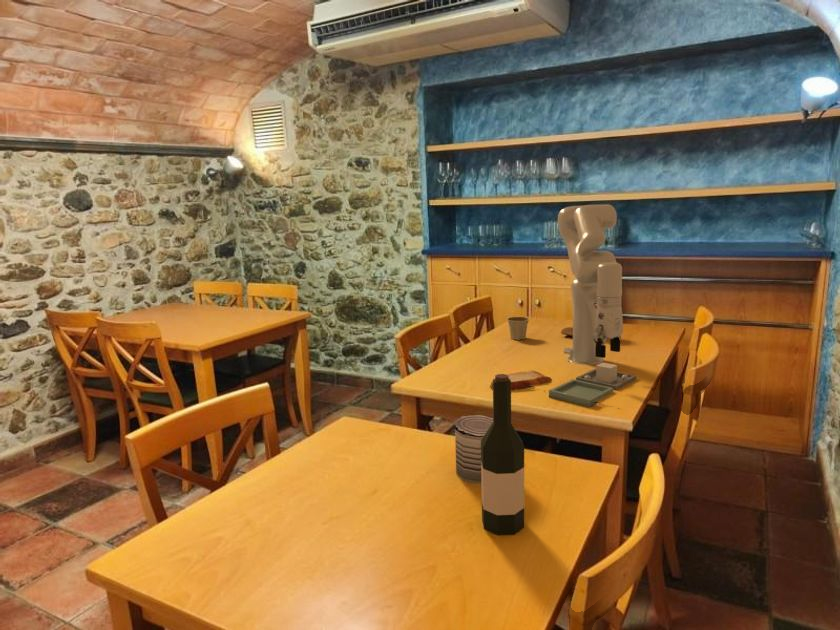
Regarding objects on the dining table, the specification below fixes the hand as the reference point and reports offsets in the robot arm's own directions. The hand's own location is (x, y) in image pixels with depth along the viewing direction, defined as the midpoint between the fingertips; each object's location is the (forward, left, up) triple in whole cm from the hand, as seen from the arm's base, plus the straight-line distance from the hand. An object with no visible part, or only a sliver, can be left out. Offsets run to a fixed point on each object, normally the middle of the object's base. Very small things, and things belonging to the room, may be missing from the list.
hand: (607, 354), depth 191 cm
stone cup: (-38, +51, -10) cm, 64 cm away
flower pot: (-58, +32, -10) cm, 67 cm away
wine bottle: (+24, -88, -10) cm, 92 cm away
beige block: (-1, +1, -9) cm, 9 cm away
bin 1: (-1, -15, -10) cm, 18 cm away
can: (+7, -74, -10) cm, 75 cm away
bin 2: (-1, +1, -10) cm, 10 cm away
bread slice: (-21, -18, -11) cm, 30 cm away
